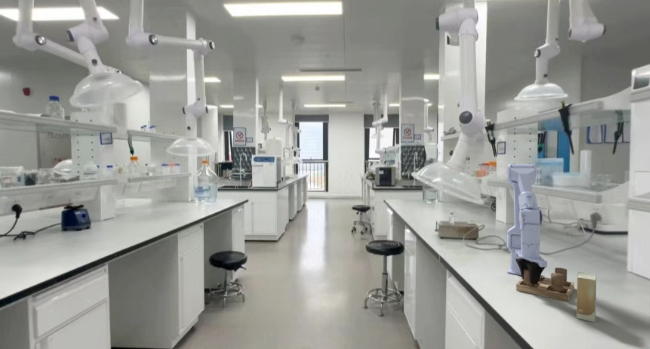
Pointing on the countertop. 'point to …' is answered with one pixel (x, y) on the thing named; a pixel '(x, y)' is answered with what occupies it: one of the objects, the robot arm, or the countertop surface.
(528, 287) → the stool seat
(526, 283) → the loose leg
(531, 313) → the countertop surface
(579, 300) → the skincare box
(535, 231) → the robot arm
